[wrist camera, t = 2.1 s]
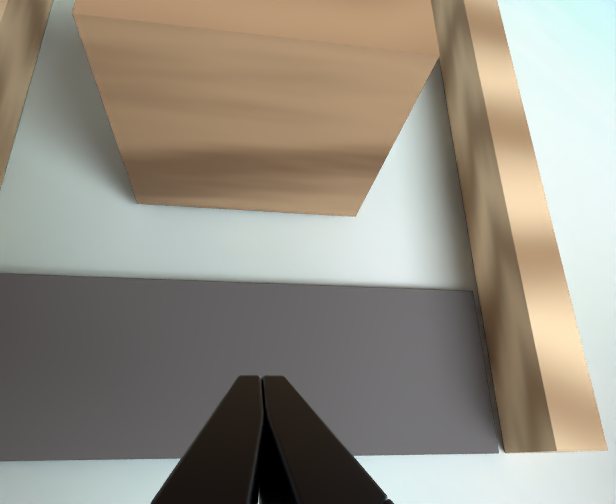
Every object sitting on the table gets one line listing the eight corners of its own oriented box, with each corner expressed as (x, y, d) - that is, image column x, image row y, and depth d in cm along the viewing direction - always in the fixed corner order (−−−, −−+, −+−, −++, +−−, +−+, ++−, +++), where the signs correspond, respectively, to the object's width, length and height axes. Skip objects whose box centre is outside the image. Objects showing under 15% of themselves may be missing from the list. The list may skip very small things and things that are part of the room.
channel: (548, 452, 20) (620, 449, 17) (-140, 463, 17) (-246, 462, 13) (456, -8, 32) (486, -71, 28) (33, -66, 28) (3, -147, 24)
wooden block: (355, 216, 23) (440, 55, 14) (137, 203, 21) (72, 13, 12) (350, 131, 25) (420, -59, 16) (150, 113, 23) (102, -107, 14)
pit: (493, 453, 20) (499, 453, 20) (-61, 462, 17) (-67, 462, 17) (468, 293, 23) (472, 291, 22) (-11, 276, 20) (-16, 272, 19)
